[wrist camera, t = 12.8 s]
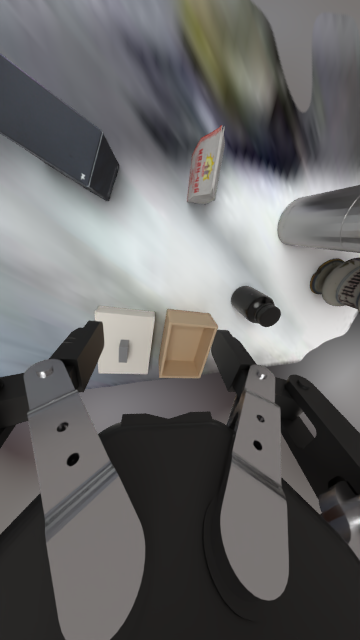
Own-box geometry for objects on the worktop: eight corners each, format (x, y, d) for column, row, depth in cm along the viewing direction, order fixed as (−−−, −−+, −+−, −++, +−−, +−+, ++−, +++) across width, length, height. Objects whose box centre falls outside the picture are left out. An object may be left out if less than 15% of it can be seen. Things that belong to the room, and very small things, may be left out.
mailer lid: (154, 311, 42) (155, 323, 36) (147, 366, 51) (147, 382, 45) (98, 305, 39) (90, 318, 33) (101, 364, 48) (95, 381, 42)
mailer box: (209, 313, 45) (218, 326, 39) (194, 361, 53) (199, 378, 47) (167, 308, 42) (169, 322, 36) (158, 359, 50) (159, 377, 44)
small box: (121, 162, 27) (105, 129, 18) (109, 203, 30) (89, 191, 21) (50, 111, 23) (-15, 36, 14) (42, 162, 26) (-17, 126, 17)
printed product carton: (212, 159, 29) (237, 129, 20) (204, 204, 32) (224, 195, 23) (192, 154, 28) (209, 121, 19) (187, 201, 31) (200, 191, 23)
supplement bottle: (250, 308, 46) (278, 330, 35) (228, 308, 45) (250, 332, 34) (257, 284, 42) (290, 302, 32) (233, 284, 41) (259, 303, 31)
